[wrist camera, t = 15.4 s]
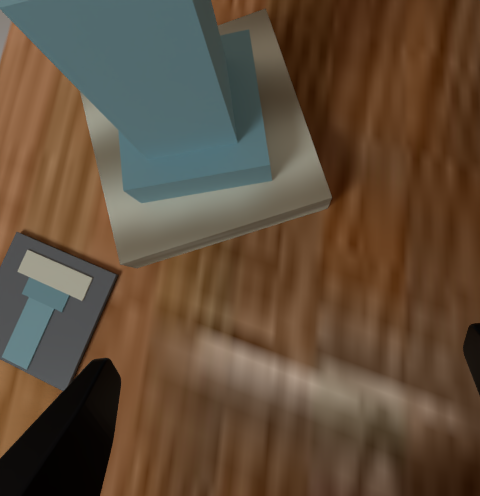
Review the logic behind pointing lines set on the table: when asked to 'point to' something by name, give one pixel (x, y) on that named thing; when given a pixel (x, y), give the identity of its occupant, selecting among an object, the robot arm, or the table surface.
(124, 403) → the table surface
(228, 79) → the teal block
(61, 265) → the slate card
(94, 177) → the table surface
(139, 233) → the cream base block
